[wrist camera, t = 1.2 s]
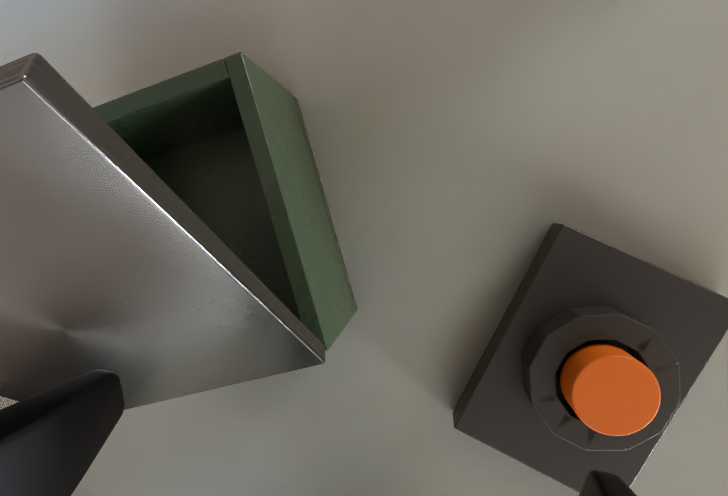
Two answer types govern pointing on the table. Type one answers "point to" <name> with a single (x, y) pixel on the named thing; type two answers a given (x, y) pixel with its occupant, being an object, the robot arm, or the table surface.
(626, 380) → the button
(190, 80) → the dark green boxy piece
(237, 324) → the grey flat plate
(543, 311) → the pad
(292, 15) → the table surface
